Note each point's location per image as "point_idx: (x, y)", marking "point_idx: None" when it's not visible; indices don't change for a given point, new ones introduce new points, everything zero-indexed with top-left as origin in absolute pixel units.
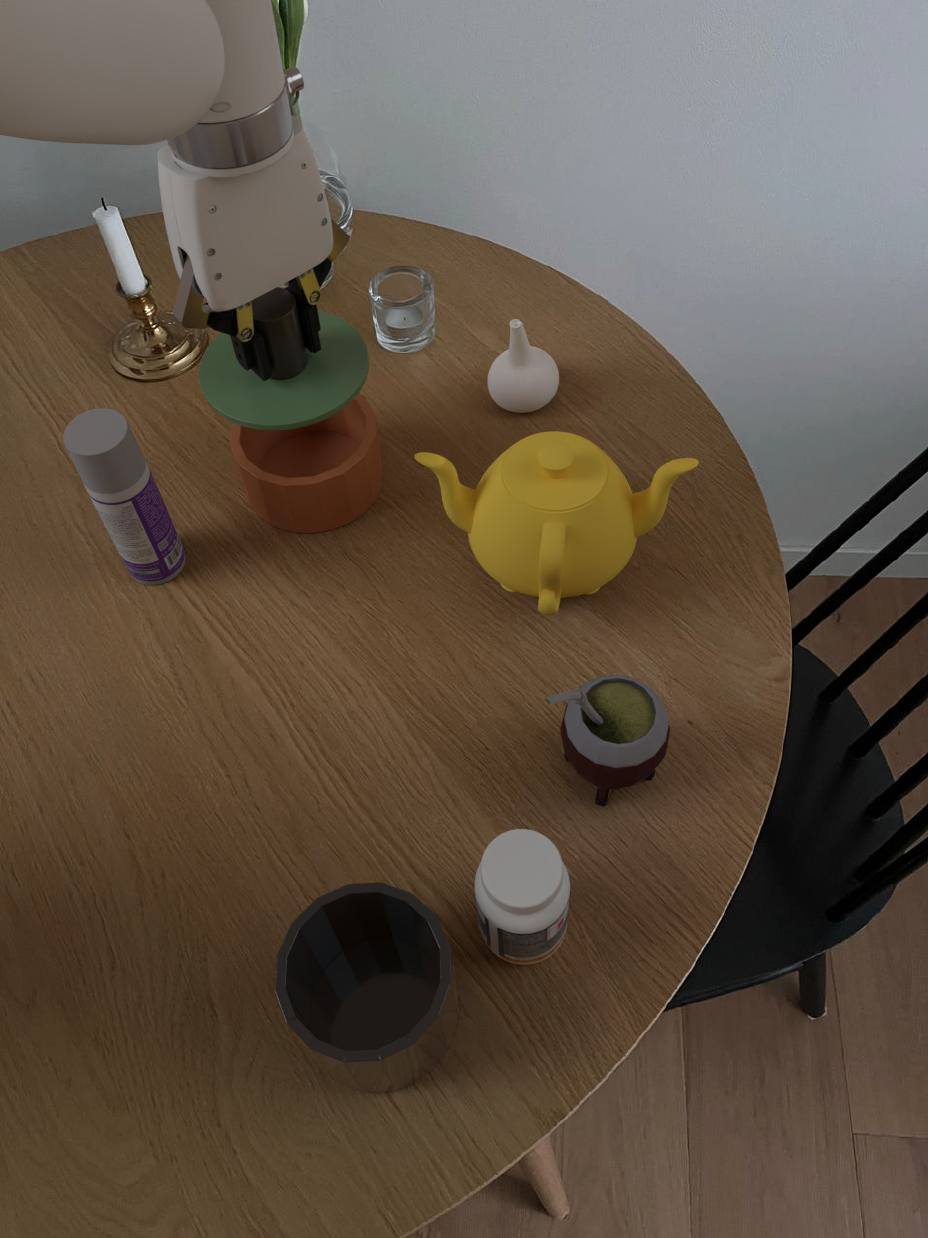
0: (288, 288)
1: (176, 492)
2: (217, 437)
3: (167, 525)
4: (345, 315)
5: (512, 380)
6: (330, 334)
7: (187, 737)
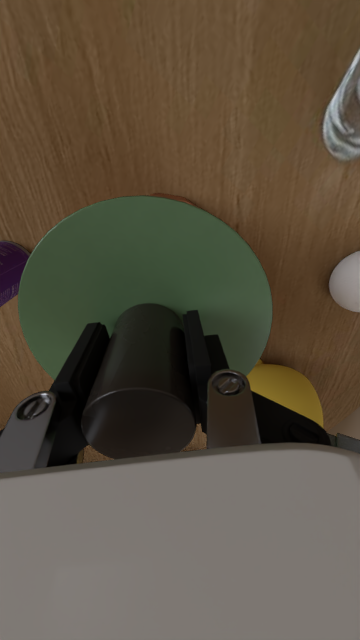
0: (200, 400)
1: (40, 197)
2: (99, 144)
3: (5, 301)
4: (339, 11)
5: (354, 299)
6: (236, 320)
7: (18, 384)
